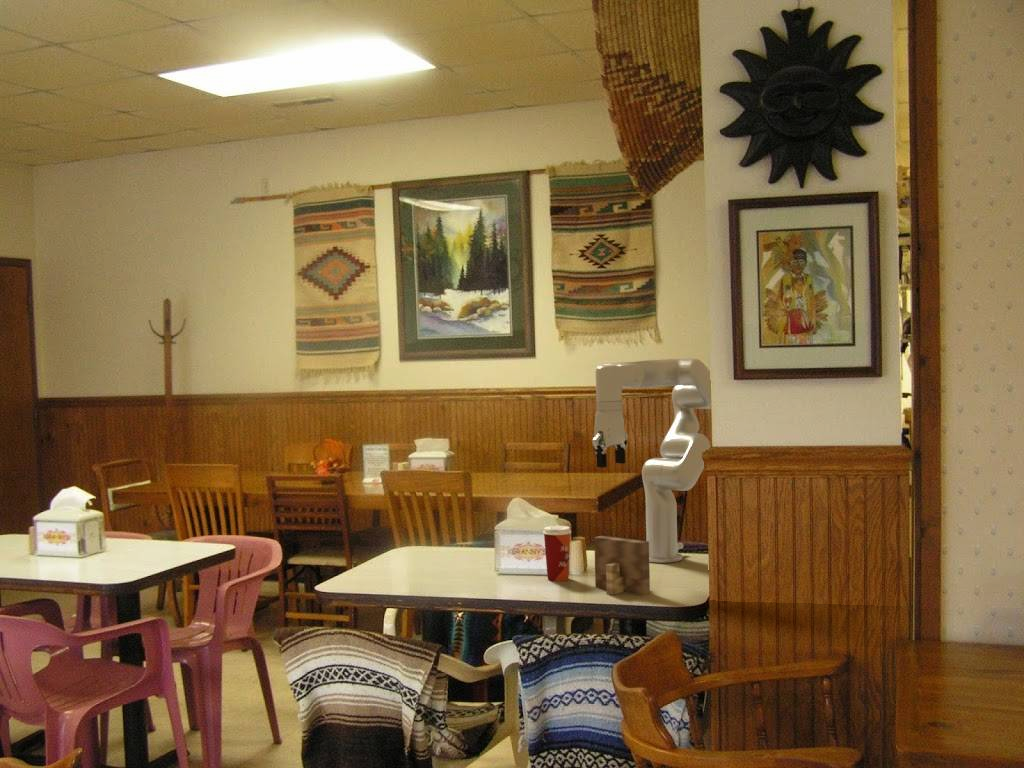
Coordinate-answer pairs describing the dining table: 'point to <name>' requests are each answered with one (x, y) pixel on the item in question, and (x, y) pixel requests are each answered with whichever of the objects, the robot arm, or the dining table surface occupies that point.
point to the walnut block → (623, 562)
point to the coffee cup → (557, 552)
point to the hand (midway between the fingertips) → (611, 465)
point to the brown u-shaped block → (614, 579)
